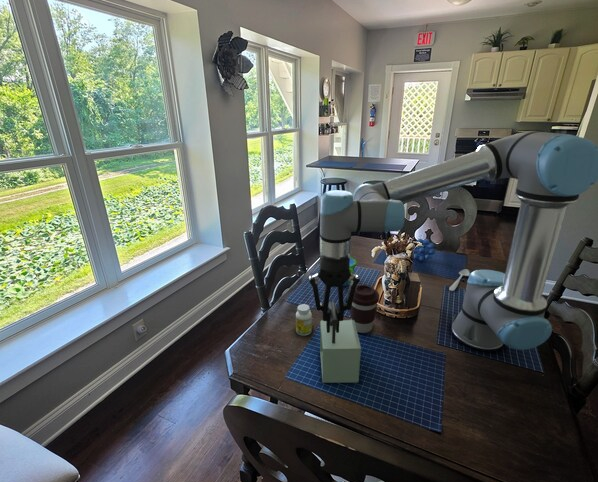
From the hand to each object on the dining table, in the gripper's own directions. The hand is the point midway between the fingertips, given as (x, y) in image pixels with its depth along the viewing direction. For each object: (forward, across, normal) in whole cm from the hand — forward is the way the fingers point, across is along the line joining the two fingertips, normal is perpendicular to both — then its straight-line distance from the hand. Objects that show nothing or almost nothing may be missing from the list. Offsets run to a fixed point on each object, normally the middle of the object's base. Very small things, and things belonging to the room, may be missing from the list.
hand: (332, 329), depth 89 cm
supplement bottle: (+14, +8, -16) cm, 23 cm away
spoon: (+14, -59, -48) cm, 77 cm away
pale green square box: (+4, -7, 0) cm, 8 cm away
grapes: (+14, -50, -68) cm, 86 cm away
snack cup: (+14, -9, -48) cm, 51 cm away
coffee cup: (+14, -12, -18) cm, 26 cm away
